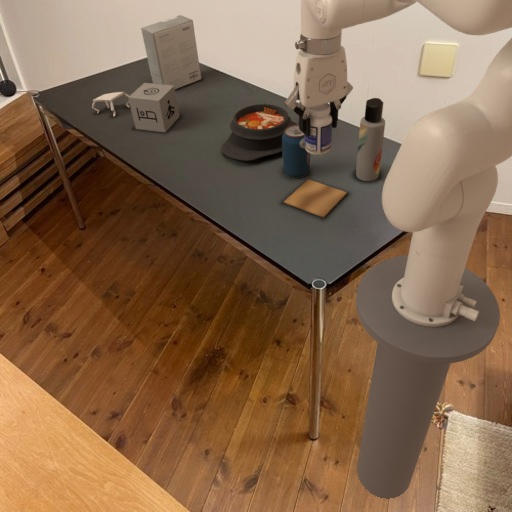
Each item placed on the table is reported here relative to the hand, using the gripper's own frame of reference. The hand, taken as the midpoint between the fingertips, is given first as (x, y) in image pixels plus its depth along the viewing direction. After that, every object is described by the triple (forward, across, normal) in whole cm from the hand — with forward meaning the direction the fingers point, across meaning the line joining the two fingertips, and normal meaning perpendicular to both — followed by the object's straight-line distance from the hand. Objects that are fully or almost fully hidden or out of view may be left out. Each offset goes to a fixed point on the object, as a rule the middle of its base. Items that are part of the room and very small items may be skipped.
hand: (318, 128), depth 107 cm
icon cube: (+20, -21, +59) cm, 66 cm away
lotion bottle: (+20, +17, +4) cm, 26 cm away
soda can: (+20, +2, +14) cm, 24 cm away
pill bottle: (+5, 0, 0) cm, 5 cm away
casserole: (+20, +1, +31) cm, 37 cm away
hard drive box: (+20, -7, +83) cm, 86 cm away
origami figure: (+20, -31, +74) cm, 83 cm away
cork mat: (+20, +1, +2) cm, 20 cm away
